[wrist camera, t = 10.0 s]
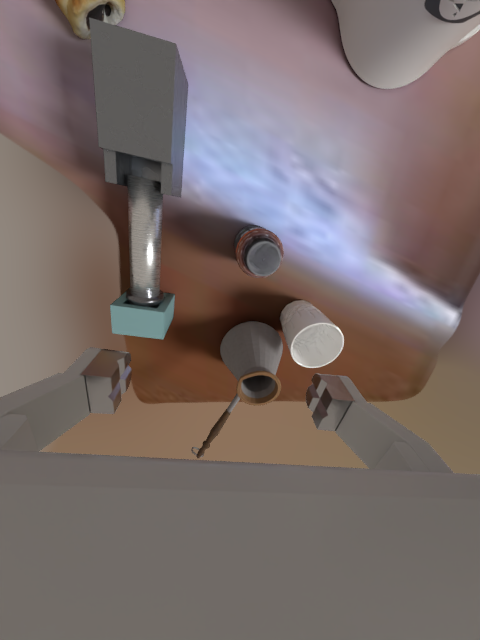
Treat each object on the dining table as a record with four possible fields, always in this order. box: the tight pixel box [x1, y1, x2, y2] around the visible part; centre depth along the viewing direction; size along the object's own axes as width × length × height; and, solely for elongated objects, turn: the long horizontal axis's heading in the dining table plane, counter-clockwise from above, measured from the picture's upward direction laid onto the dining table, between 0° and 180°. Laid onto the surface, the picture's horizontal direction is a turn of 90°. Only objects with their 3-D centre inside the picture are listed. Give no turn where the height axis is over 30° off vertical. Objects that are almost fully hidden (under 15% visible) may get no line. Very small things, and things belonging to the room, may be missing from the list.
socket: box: [110, 288, 175, 339], centre depth 35 cm, size 4×7×7 cm, turn 79°
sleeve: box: [89, 18, 188, 197], centre depth 25 cm, size 12×7×7 cm, turn 169°
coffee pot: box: [192, 321, 283, 458], centre depth 38 cm, size 21×12×15 cm, turn 141°
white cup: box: [280, 300, 344, 368], centre depth 37 cm, size 8×8×10 cm
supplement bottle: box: [234, 225, 284, 278], centre depth 30 cm, size 6×6×11 cm
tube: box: [126, 175, 164, 308], centre depth 31 cm, size 19×5×5 cm, turn 169°
